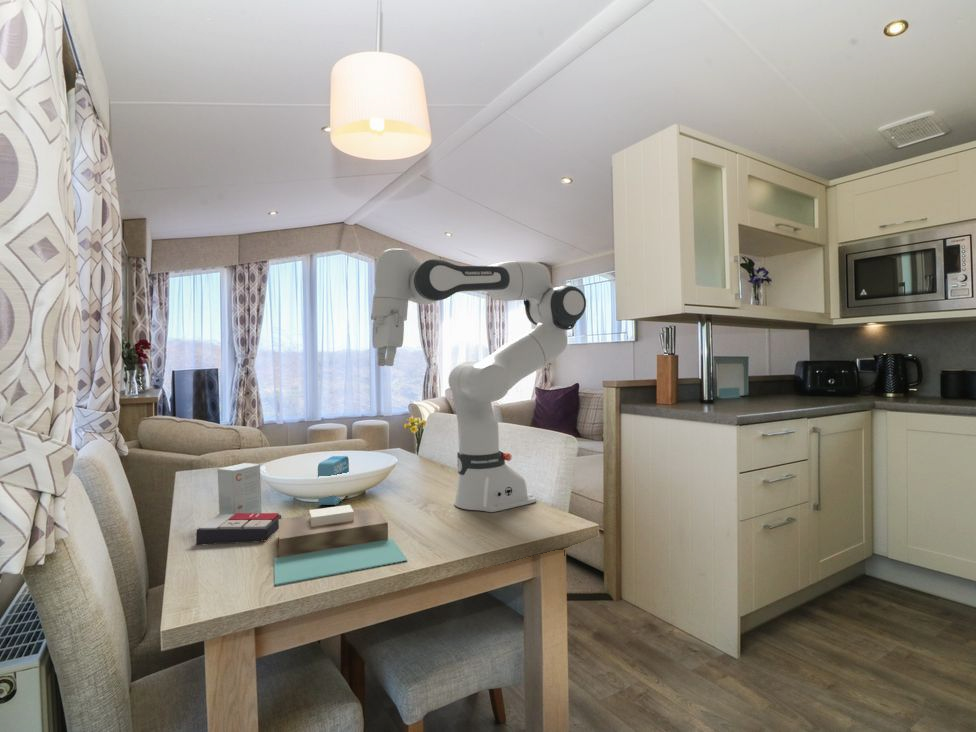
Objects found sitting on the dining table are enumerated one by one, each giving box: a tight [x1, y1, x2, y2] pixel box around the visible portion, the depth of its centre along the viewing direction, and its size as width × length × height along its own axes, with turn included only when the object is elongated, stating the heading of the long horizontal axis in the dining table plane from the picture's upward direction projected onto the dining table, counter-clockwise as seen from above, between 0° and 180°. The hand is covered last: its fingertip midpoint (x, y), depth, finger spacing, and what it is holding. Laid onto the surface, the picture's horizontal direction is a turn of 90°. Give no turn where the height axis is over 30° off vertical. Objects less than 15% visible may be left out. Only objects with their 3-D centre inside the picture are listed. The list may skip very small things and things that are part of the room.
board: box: [278, 505, 389, 557], centre depth 111 cm, size 22×14×4 cm, turn 114°
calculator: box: [195, 512, 282, 546], centre depth 115 cm, size 11×4×15 cm
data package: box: [317, 455, 350, 506], centre depth 142 cm, size 12×4×12 cm, turn 175°
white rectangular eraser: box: [308, 504, 354, 527], centre depth 112 cm, size 9×6×2 cm, turn 114°
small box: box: [217, 462, 262, 515], centre depth 129 cm, size 8×6×13 cm
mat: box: [273, 538, 408, 587], centre depth 98 cm, size 24×13×1 cm, turn 114°
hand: (384, 366), depth 125 cm, fingers open, 8 cm apart
